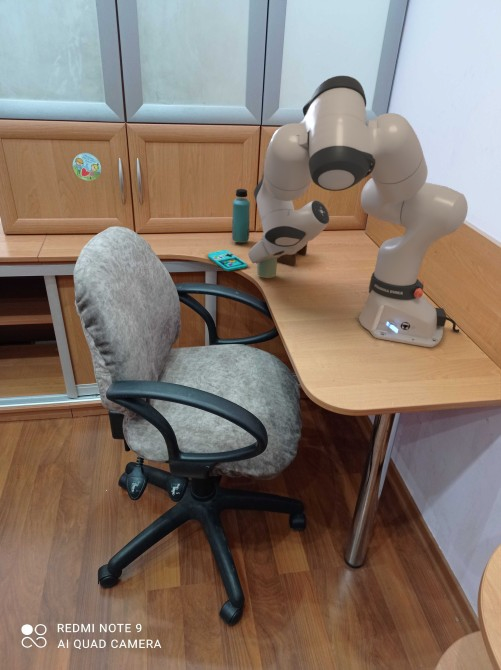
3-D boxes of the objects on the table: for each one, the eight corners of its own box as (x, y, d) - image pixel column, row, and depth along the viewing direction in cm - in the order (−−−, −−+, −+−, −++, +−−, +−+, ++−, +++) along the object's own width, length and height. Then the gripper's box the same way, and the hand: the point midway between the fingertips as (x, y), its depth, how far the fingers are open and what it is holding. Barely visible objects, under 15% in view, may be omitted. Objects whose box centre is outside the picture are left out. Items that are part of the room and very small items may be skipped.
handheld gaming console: (226, 248, 171) (248, 264, 160) (226, 251, 171) (248, 267, 161) (205, 253, 167) (226, 268, 156) (205, 255, 167) (226, 271, 157)
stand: (306, 254, 173) (308, 236, 169) (293, 266, 163) (295, 246, 160) (273, 247, 177) (274, 229, 173) (259, 258, 168) (261, 239, 164)
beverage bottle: (248, 246, 177) (251, 192, 166) (231, 245, 176) (232, 191, 166) (249, 240, 182) (251, 187, 171) (231, 239, 182) (233, 186, 171)
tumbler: (279, 272, 155) (281, 246, 151) (271, 279, 151) (273, 252, 146) (261, 268, 158) (263, 242, 153) (253, 275, 153) (255, 248, 148)
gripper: (309, 223, 146) (285, 243, 158) (259, 235, 135) (237, 256, 147) (318, 241, 146) (293, 260, 157) (268, 255, 135) (245, 274, 146)
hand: (266, 258), depth 152 cm, fingers closed on tumbler, 6 cm apart
